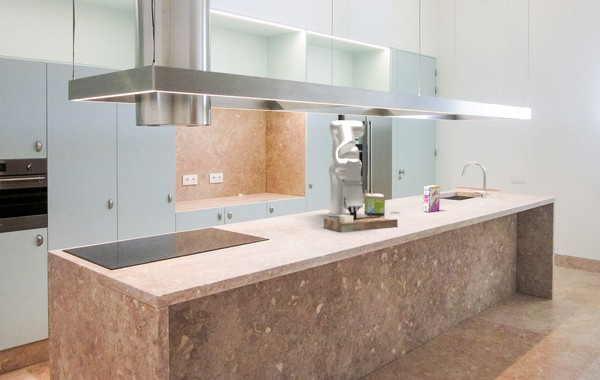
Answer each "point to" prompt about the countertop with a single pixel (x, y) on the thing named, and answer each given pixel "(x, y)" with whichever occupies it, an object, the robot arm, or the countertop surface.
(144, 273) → the countertop surface
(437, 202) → the candy bar box
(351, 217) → the cream block
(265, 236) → the countertop surface
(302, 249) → the countertop surface
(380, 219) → the trap board
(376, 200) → the tea box
